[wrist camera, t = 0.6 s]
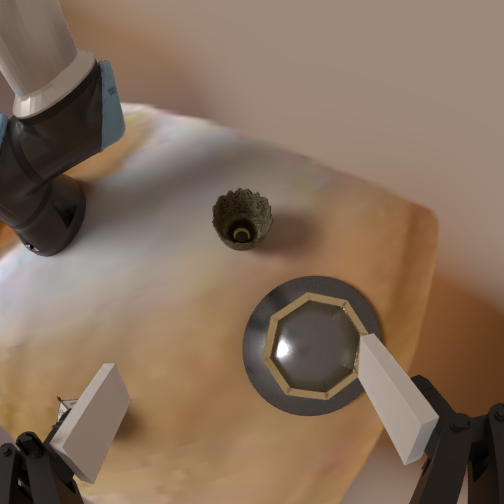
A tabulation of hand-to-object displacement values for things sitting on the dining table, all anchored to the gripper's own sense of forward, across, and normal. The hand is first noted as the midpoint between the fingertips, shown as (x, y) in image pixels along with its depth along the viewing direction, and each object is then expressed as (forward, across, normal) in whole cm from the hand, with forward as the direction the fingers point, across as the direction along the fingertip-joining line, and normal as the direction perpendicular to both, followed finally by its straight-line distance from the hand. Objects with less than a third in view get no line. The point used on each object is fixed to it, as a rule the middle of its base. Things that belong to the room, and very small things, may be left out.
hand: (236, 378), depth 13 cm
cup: (+30, 0, +2) cm, 30 cm away
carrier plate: (+22, +8, -13) cm, 27 cm away
